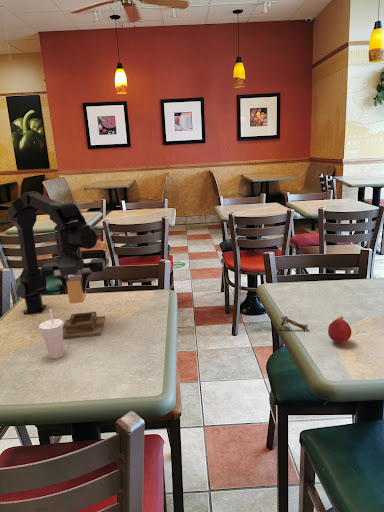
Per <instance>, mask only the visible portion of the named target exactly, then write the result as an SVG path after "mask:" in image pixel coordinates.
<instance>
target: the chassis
mask: <svg viewBox="0 0 384 512" xmlns="http://www.w3.org/2000/svg"><path fill="white" fill-rule="evenodd" d="M105 320H106V315H102V316H101V315H100V316H98V315H97V311H88V312H77V313H71V314H70V317H69V318H68V319H65V321H64V322H63V324H64V326H63V340H70V339H77V338H78V339H79V338H86V337H87V338H88V337H97V336H101V335H102V332H103V328H104V325H105Z"/></svg>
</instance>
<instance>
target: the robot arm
mask: <svg viewBox="0 0 384 512" xmlns="http://www.w3.org/2000/svg"><path fill="white" fill-rule="evenodd" d="M38 212H42V213H44V214H46V215H48V216H49V220H51V221H52V222H53V223H54V224H55V226H54V227H53V230H54V231H56V232H57V236H58V240H59V248H60V259H59V263H57V261H56V262H55V261H54V262H46V263H44V264H43V265H42V266H41V267H40V268H39V262H38V254H37V249H36V243H35V242H36V241H35V233H34V227H35V224H36V222H37V213H38ZM7 214H8V217H9V218H10V221H11V223H12V225H13V226H14V227H15V228H16V229H17V236H18V241H19V247H20V255H21V261H22V267H23V268H22V271H21V274H20V276H19V285H18V287H17V290H16V294H17V296H18V298H21V299H24V302H25V308H26V309H25V310H24V312H23V314H24V315H28V314H37V313H43V311H44V310H45V309H46V308H47V304H44V303H43V298H42V294H43V293H47V285H48V284H47V283H48V281H47V279H46V278H47V277H51V276H52V275H53V274H54V276H53V278H54V279H58V280H59V281H60V282H61V284H63V286H64V288H65V290H66V292H68V289H67V280H68V279H69V277H70V276H76V275H77V274H78V271H80V270H82V273H81V274H80V275H82V285H83V293H85V291H86V290H87V289H86V288H87V285H88V280H89V277H90V275H91V276H92V274H93V273H99V272H104V271H105V268H106V261H105V258H92V259H91V260H90V261H89V262H85V261H84V259H83V257H82V250H81V249H86V250H90V249H93V248H94V247H96V245H97V243H98V234H97V233H96V232H95V231H94V230H93V228H92V229H91V225H90V224H87V223H88V222H87V221H86V218H85V217H84V215H83V214H82V212H81V210H80V209H79V207H78V206H77V204H76V203H75V202H69V201H57V200H55V199H52V198H50V197H48V196H46V195H43V194H41V193H40V192H39V191H29V192H24V193H22V194H21V195H20V197H18V198H16V200H14V201H12V202H11V204H10V206H9V207H8V209H7Z"/></svg>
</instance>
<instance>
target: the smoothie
mask: <svg viewBox="0 0 384 512" xmlns="http://www.w3.org/2000/svg"><path fill="white" fill-rule="evenodd" d="M48 310H49V315H50V319H48V320H46V321H43V322H42V323H40V324H39V326H38V327H39V328H38V329H39V332H41V335H42V339H43V341H44V344H45V347H46V351H47V353H48V357H49V358H50V359H51V360H56V359H60V358H62V357H63V356H64V339H63V326H64V320H63V319H58V318H54V316H53V310H52V308H49V309H48Z"/></svg>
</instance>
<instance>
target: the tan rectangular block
mask: <svg viewBox="0 0 384 512" xmlns="http://www.w3.org/2000/svg"><path fill="white" fill-rule="evenodd" d="M68 277H69V279H68V280H67V289H68V291H67V294H68V300H69V304H79V303H80V304H81V303H84V301H85V299H86V296H87V292H86V290H85V293H83V285H82V275H81V274H79V275H77V274H76V275H69V276H68Z"/></svg>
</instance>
